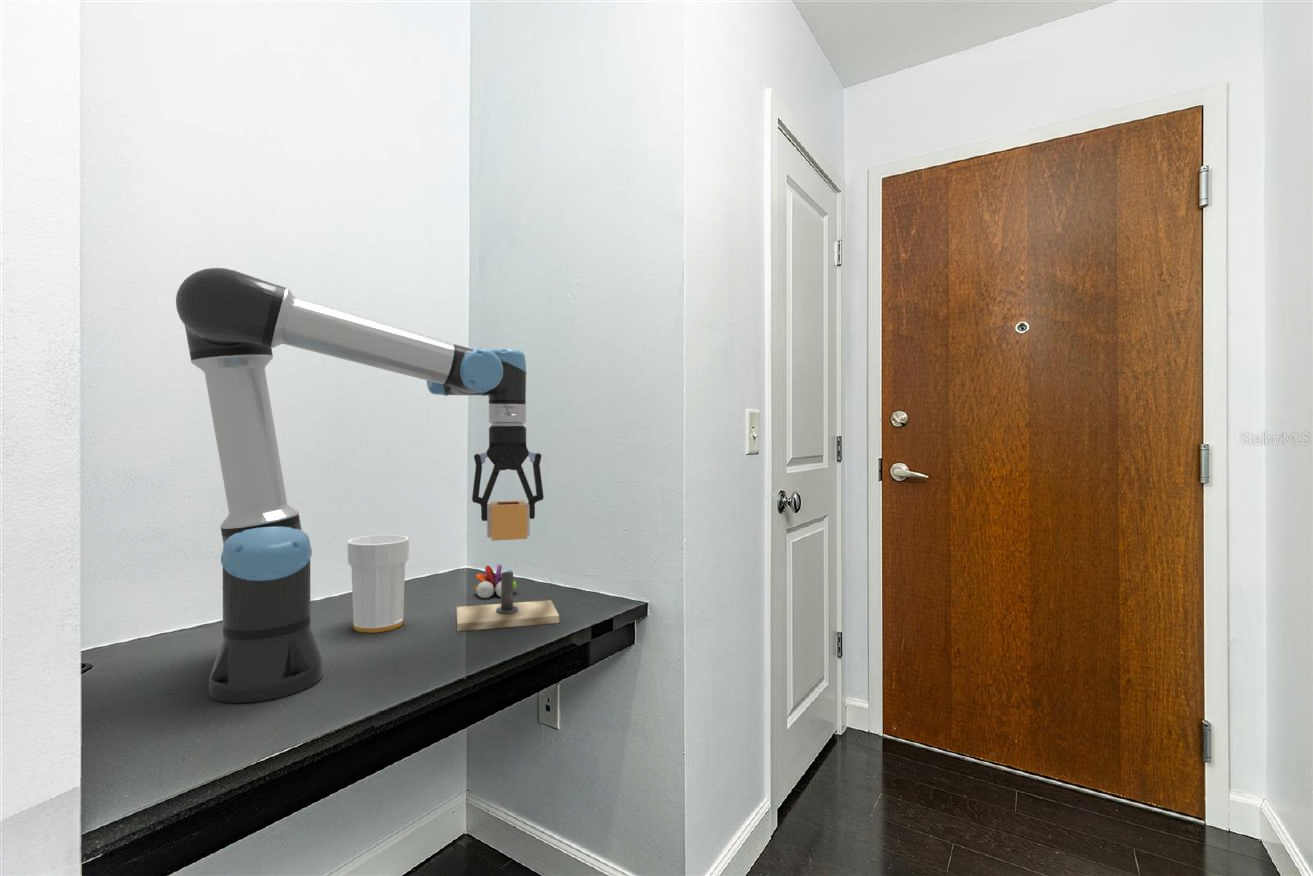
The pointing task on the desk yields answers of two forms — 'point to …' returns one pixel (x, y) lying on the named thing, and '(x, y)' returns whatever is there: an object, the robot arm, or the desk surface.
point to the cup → (378, 581)
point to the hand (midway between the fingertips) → (508, 535)
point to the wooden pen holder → (508, 520)
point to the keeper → (506, 611)
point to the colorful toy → (490, 582)
